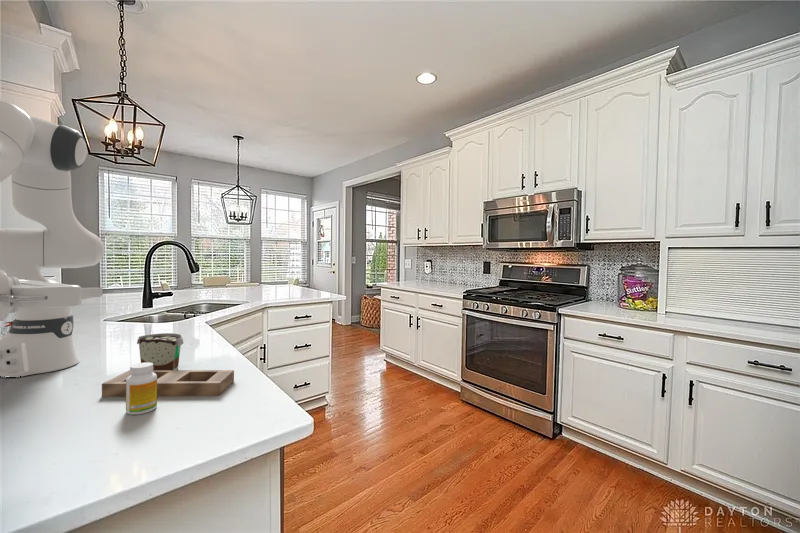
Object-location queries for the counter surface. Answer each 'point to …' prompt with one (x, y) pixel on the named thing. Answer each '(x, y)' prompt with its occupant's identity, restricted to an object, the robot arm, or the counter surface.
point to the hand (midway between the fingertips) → (89, 290)
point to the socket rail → (177, 383)
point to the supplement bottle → (141, 389)
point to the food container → (161, 350)
